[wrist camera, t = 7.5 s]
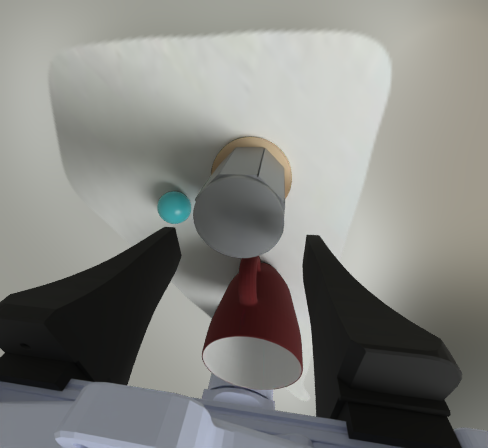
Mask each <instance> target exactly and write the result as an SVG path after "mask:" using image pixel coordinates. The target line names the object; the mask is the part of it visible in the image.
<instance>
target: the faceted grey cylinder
mask: <svg viewBox="0 0 488 448" xmlns="http://www.w3.org/2000/svg"><path fill="white" fill-rule="evenodd" d="M195 201H196V203H195V206H194V211H193V219H194V224H195V227H196V230H197V232H198V234H199V235H200V237H201V238H202V239H203V240H204V242H205V243H206V244H207V245H209V246H210V247H211V248H213V249H214V250H216V251H217V252H219V253H222V254H224V255H227V256H230V257H236V258H251V257H256V256H259V255H261V254H264V253H266V252H267V251H269V250H270V249H272V248H273V247H274V246H275V245H276V244H277V242H278V241H279V239H280V237H281V235H282V233H283V228H284V210H285V177H284V167H283V166H282V165H281V164H280V163H279V162H278V160H277V159H276V158H275V157H274V156H273V155H272V154H271V153H270V152H269V151H268V150H267V149H266V148H265V149H264V147H235V149H234V150H233V151H232V152H231V153H230V154H229V155H228V156H227V157H226V158H225V159H224V160H223V161H222V163H221V164H220V165H219V166H218V167H217V169H216V170H215V171H214V173H213V174H212V176H211V177H210V178H209V180H208V181H207V183H206V184H205V185H204V187H203V188H202V190H201V191H200V192H199V194H198V195H197V197H196V199H195Z"/></svg>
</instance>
